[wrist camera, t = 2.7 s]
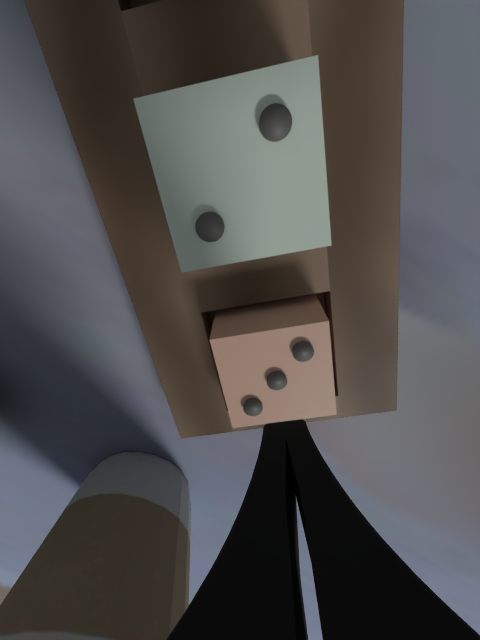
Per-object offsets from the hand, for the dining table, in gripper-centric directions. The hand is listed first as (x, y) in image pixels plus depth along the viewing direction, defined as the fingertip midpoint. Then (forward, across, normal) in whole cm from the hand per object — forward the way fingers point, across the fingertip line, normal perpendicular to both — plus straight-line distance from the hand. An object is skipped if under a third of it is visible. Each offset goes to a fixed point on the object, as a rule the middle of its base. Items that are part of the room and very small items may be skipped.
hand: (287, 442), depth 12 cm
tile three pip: (+7, 0, 0) cm, 7 cm away
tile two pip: (+5, 0, -9) cm, 10 cm away
